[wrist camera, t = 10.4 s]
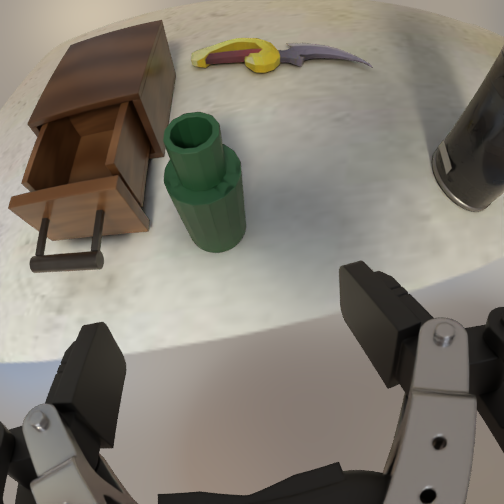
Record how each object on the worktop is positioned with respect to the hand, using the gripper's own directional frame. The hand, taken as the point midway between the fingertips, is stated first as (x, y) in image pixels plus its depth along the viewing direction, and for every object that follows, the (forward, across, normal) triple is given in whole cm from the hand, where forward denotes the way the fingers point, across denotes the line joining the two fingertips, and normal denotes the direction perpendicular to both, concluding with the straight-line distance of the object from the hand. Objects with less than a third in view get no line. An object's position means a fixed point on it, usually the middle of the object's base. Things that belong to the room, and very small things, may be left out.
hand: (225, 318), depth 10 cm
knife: (+35, +13, +12) cm, 40 cm away
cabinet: (+32, -9, +9) cm, 34 cm away
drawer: (+22, -11, +1) cm, 25 cm away
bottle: (+19, 0, -4) cm, 19 cm away
